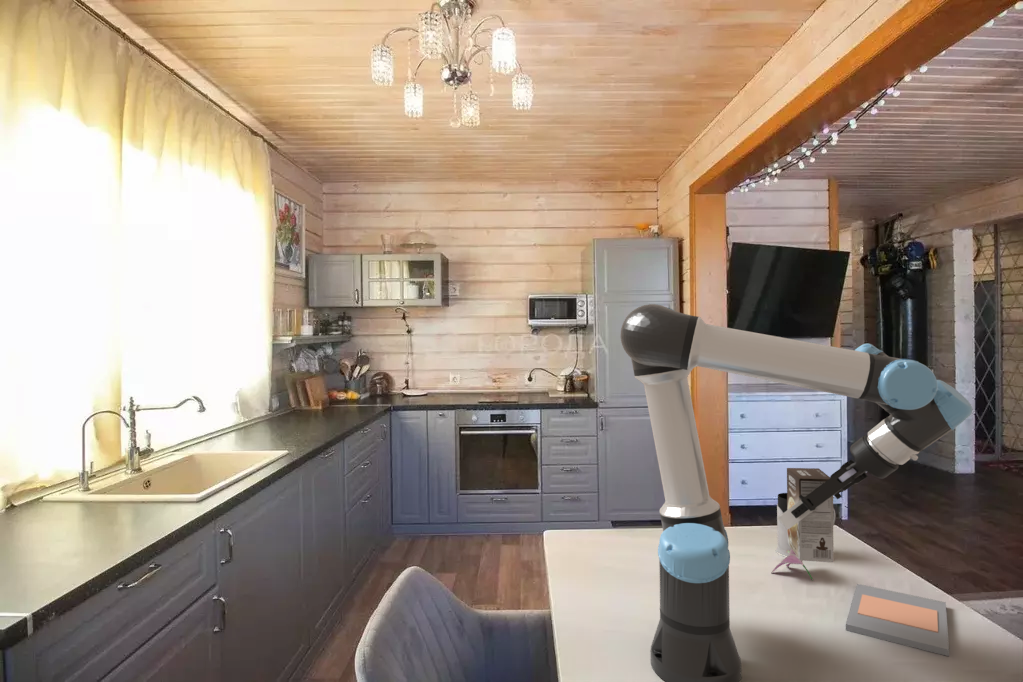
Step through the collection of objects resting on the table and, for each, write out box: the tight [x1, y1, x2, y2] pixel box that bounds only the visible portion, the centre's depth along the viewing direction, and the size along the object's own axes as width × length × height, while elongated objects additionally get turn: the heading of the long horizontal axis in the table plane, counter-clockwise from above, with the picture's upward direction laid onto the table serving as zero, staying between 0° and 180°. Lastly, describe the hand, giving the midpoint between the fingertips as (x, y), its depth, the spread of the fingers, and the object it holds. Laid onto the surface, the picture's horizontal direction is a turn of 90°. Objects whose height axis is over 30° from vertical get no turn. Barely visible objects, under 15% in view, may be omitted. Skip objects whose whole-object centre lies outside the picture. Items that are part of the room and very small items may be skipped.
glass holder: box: [775, 492, 836, 556], centre depth 149 cm, size 9×14×15 cm, turn 70°
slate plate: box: [845, 583, 950, 657], centre depth 115 cm, size 22×16×1 cm
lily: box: [770, 548, 813, 580], centre depth 136 cm, size 12×12×10 cm
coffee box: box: [786, 467, 835, 563], centre depth 113 cm, size 9×6×16 cm
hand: (794, 516), depth 115 cm, fingers closed on coffee box, 11 cm apart
